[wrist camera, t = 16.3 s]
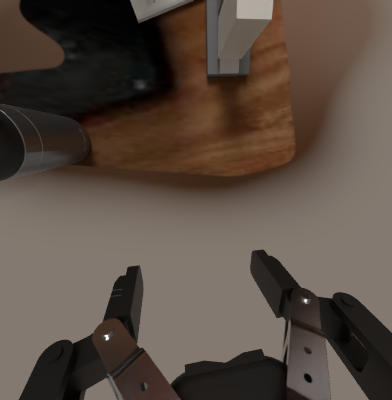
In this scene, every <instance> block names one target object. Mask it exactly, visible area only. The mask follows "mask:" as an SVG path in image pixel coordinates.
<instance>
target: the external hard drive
mask: <svg viewBox="0 0 392 400" xmlns="http://www.w3.org/2000/svg"><path fill="white" fill-rule="evenodd" d="M130 1H131V4H132V6H133V9H134V12H135V15H136V17H137V20H138V23H140V22H143V21H145V20H148V19H150V18H153V17H155V16H158V15H160V14H162V13H165V12H167V11H170V10H172V9H175V8H177V7H180V6H182V5H184V4H187V3H189V2H192V1H194V0H130Z"/></svg>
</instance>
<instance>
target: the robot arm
mask: <svg viewBox="0 0 392 400" xmlns="http://www.w3.org/2000/svg"><path fill="white" fill-rule="evenodd" d="M89 150H90V140H89V137H88V134H87V132H86V130H85V129H84V128H83V127H82V126H81V125H80V124H79V123H78V122H77V121H75V120H73V119H71V118H68V117H63V116H59V115H54V114H49V113H44V112H39V111H34V110H29V109H24V108H19V107H14V106H8V105H3V104H0V181H1V180H6V179H10V178H14V177H18V176H23V175H27V174H31V173H35V172H40V171H44V170H49V169H53V168H57V167H61V166H66V165H71V164H75V163H78V162H80V161H82V160H83V159H84V158H86V156H87V155H88V152H89ZM250 269H251V274H252V276H253V278H254V280H255V282H256V283H257V285H258V287H259V288H260V290H261V292H262V294H263V295H264V297H265V298H266V300H267V302H268V304H269V306H270V307H271V309H272V311H273V312H274V314H275V316H276V317H277V318H280V317H284V319H285V320H286V321H285V327H284V338H283V348H282V356H281V361H279V360H277V359H275V358H272V357H268V356H264V354H263V351H262V349H258V350H253V351H249V352H244V353H242V354H240V355H238V356H237V357H235V358H233V359H232V360H230V361H228V362H226V363H222V362H212V361H201V362H196V363H191V364H187V365H185V373H183V374H181V375H180V376H178V377H177V378H176V379H175V380H174V381H173V382H172V383H171V384H169V383H168V381H167V380H166V379H165V377H164V376H163V374H162V373H161V372H160V370H159V369H158V368H157V366H156V365H155V363H154V362H153V361H152V359H151V358H150V356H149V355H148V354H147V353H146V351H145V350H144V349H143V348H141V349H140V348H139V347H138V345H137V340H138V332H139V324H140V315H141V307H142V298H143V280H142V274H141V269H140V266H131V267H128V268H127V273H126V275H124V276H120V277H119V278H118V279H117V280H116V282H115V283H114V287H113V291H112V293H111V297H110V300H109V303H108V306H107V309H106V313H105V316H104V319H103V322H102V323H101V324H100V325H99V326H98V327H97V328H96V329H95V331H94V333H93V334H91V335H90V336H88V337H86V338H84V339H82V340H80V341H78V342H76V343H73V344H72V342H71V341H69V340H60V341H57V342H55V343H54V344H52V345H51V346H49V347H48V348H47V349H46V350H45V351H44V352H43V353H42V354H41V356H40V357H39V359H38V361H37V363H36V365H35V367H34V369H33V371H32V373H31V376H30V377H29V380H28V382H27V384H26V386H25V388H24V390H23V392H22V394H21V396H20V398H19V400H84V396H85V391H86V389H88V388H89V387H91V386H93V385H95V384H96V383H98V382H100V381H101V380H103V379H105V378H107V380H108V382H109V384H110V386H111V388H112V390H113V392H114V394H115V396H116V398H117V400H331V392H330V383H329V382H330V381H329V371H328V362H327V361H328V360H327V350H326V340H325V338H326V339H327V340H328V342H329V343H330V344H331V346H332V347H333V349H334V350H335V352H336V353H337V355H338V356H339V357H340V359H341V360H342V362H343V363H344V364H345V366H346V367H347V369H348V370H349V372H350V373H351V375H352V376H353V377H354V379H355V380H356V382H357V383H358V385H359V386H360V387H361V389H362V390H363V392H364V393H365V394H366V396H367V397H368V399H369V400H392V333H391V332H390V331H389V330H388V329H387V328H386V327H385V326H384V325H383V324H382V323H381V322H380V321H379V320H378V319H377V318H376V317H375V316H374V315H373V314H372V313H371V312H370V311H369V310H368V309H367V308H366V307H365V306H364V305H363V304H361V303H360V302H359V301H358V300H357V299H356V298H354V297H353V296H351V295H349V294H346V293H341V292H338V293H335V294H334V295H333V297H332V299H331V298H323V297H317V296H316V295H315V294H314V293H313V292H311V291H309V290H307V289H305V288H301V287H300V286H299V284H298V283H297V282H296V281H295V280H294V279H293V277H292V276H291V275H290V274H289V273H288V271H286V269H285V268H284V267H283V266H282V264H281V263H280V262H279V261H278V260H277V259H275V258H274V257H273V256H268V255H267V253H266V252H265V251H264V250H255V251H252V256H251V265H250ZM354 335H355V336H356V337H357V338H358V339H357V338H356V337H355V336H354ZM360 342H361V343H362V344H363V345H362V344H361V343H360ZM365 348H366V349H365Z"/></svg>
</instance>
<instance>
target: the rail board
mask: <svg viewBox="0 0 392 400" xmlns="http://www.w3.org/2000/svg"><path fill="white" fill-rule="evenodd" d="M223 1H224V0H206V60H207V77H225V76H247V75H248V74H249V69H250V48H249V50H248V51H247V52H246V54H245V55H244V56H243V58H242V59H218V17H219V14H220V11H221V8H222V5H223Z"/></svg>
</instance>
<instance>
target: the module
mask: <svg viewBox="0 0 392 400" xmlns="http://www.w3.org/2000/svg"><path fill="white" fill-rule="evenodd" d="M272 9H273V0H224V1H223V5H222V8H221V11H220V14H219V17H218V59H242V58H243V56H244V55H245V54H246V52H247V51H248V50H249V48H250V47H251V46H252V44H253V43H254V42H255V41H256V39H257V38H258V37H259V35H260V34H261V33H262V31H263V30H264V29H265V27H266V26H267V25H268V24H269V22H270V21H271V20H272Z"/></svg>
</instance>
